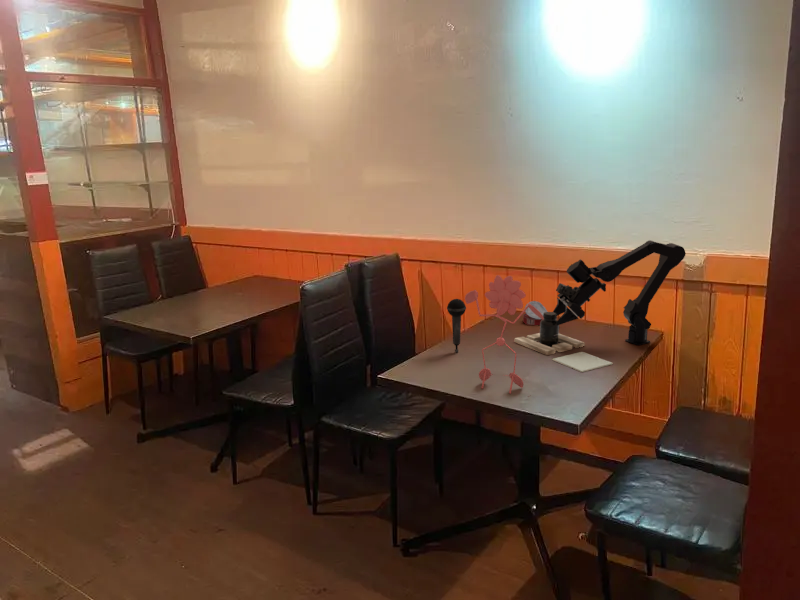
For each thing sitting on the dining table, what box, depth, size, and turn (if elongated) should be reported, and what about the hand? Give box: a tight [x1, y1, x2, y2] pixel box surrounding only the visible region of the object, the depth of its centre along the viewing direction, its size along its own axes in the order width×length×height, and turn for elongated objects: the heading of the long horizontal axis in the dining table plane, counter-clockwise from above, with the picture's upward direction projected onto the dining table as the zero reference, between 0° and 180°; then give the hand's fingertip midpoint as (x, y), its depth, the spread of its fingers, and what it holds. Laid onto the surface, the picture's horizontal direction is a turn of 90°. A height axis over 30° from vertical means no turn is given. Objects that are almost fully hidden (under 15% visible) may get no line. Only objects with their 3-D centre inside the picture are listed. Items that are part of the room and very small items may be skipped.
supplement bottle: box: [539, 311, 560, 348], centre depth 232 cm, size 7×7×12 cm
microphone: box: [446, 298, 467, 353], centre depth 224 cm, size 7×7×20 cm
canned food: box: [522, 300, 548, 327], centre depth 261 cm, size 11×10×10 cm
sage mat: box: [552, 351, 613, 373], centre depth 213 cm, size 14×14×1 cm
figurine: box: [464, 274, 544, 398], centre depth 192 cm, size 15×26×35 cm, turn 59°
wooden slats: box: [513, 332, 585, 356], centre depth 233 cm, size 18×18×2 cm
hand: (553, 320), depth 231 cm, fingers open, 9 cm apart
